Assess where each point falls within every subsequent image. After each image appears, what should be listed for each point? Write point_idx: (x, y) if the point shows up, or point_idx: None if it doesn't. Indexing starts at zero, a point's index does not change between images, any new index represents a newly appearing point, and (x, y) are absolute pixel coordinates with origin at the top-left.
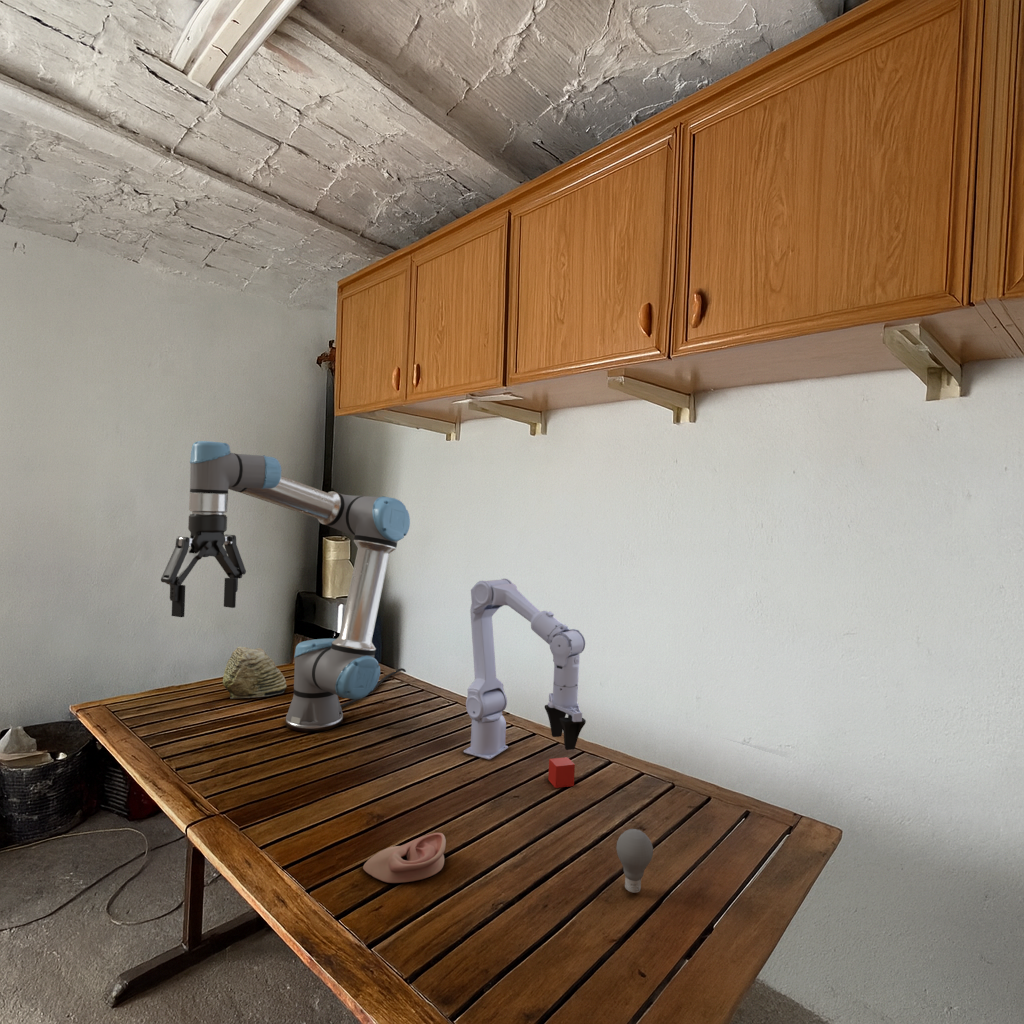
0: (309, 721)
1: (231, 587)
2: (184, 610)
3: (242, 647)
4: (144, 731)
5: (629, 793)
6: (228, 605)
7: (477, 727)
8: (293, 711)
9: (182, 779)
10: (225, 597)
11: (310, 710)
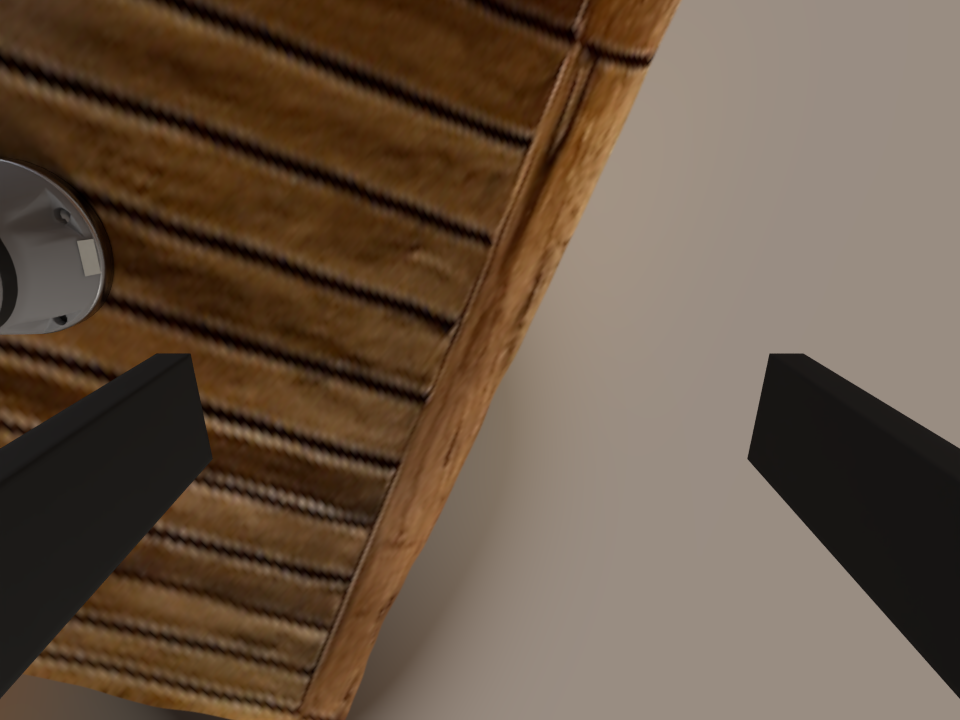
0: (60, 221)
1: (38, 501)
2: (802, 377)
3: None
4: (345, 546)
5: None
6: (192, 413)
7: None
8: (68, 280)
9: (482, 272)
10: (159, 495)
11: (30, 225)
